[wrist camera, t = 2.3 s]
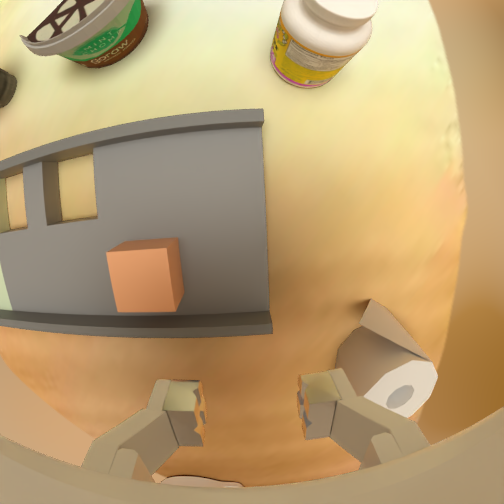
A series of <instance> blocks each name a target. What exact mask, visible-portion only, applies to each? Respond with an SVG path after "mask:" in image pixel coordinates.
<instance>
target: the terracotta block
mask: <svg viewBox="0 0 504 504" xmlns="http://www.w3.org/2000/svg"><path fill="white" fill-rule="evenodd" d="M106 256H107V262H108V267H109V273H110V278H111V283H112V288H113V293H114V298H115V302H116V306H117V311H118V312H176V310H177V308H178V305H179V303H180V301H181V299H182V297H183V295H184V285H183V277H182V269H181V261H180V252H179V243H178V237H174V238H161V239H147V240H134V241H124V242H123V243H121V244H119V245H117V246H116V247H114V248H112V249H111V250H109V251H107V252H106Z"/></svg>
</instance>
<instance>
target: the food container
mask: <svg viewBox="0 0 504 504" xmlns="http://www.w3.org/2000/svg"><path fill="white" fill-rule="evenodd" d="M147 27H148V14H147V12H146V9H145V6H144V3H143V0H63V1H62V2H61V3H60V4H59V5H58V6H57V7H56V9H55V10H54V11H53V12H52V13H51V14H50V15H49V16H48V17H47V18H46V19H45V20H44V21H43V22H42V23H41V24H40V25H39V26H38V27H37V28H36V29H35V30H33V31H32V32H31V33H30V34H29V35H28V36H27V37H25V36H22V35H20V37H21V39H22V42H23V43H24V44H25V45H26V47H27V48H28V49H29V50H30V51H32V52H33V53H34V54H37V55H39V56H51V55H56V54H57V55H60V56H62V57H65V58H67V59H69V60H72V61H74V62H77V63H79V64H81V65H84V66H86V67H88V68H101V67H105V66H109V65H112V64H114V63H116V62H118V61H120V60H121V59H123V58H124V57H126V56H127V55H128V54H130V53H131V52H132V51H133V50H134V49H135V48H136V47H137V46H138V44H139V43H140V42H141V40H142V39H143V37H144V35H145V33H146V31H147Z"/></svg>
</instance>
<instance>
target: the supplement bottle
mask: <svg viewBox="0 0 504 504" xmlns="http://www.w3.org/2000/svg"><path fill="white" fill-rule="evenodd" d="M377 8H378V0H284V2H283V5H282V8H281V12H280V16H279V20H278V24H277V27H276V31H275V35H274V39H273V43H272V47H271V53H270V58H271V63H272V66H273V68H274V69H275V71H276V72H277V74H278V75H279V76H280V77H281V78H282V79H284V80H285V81H287V82H288V83H290V84H293V85H295V86H299V87H304V88H313V87H318V86H321V85H324V84H325V83H327V82H328V81H330V80H331V79H332V78H333V77H334V76H335V75H336V74H337V73H338V72H339V71H340V70H341V69H342V68H343V67H344V66H345V65H346V64H347V63H348V62H349V61H350V60H351V59H352V58H353V57H354V56H355V55H356V54H357V53H358V52H359V51H360V50H361V49H362V48H363V47H364V46H365V45H366V44H367V42H368V41H369V39H370V37H371V33H372V22H371V18H372V17H373V15H374V14H375V13H376V11H377Z"/></svg>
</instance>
